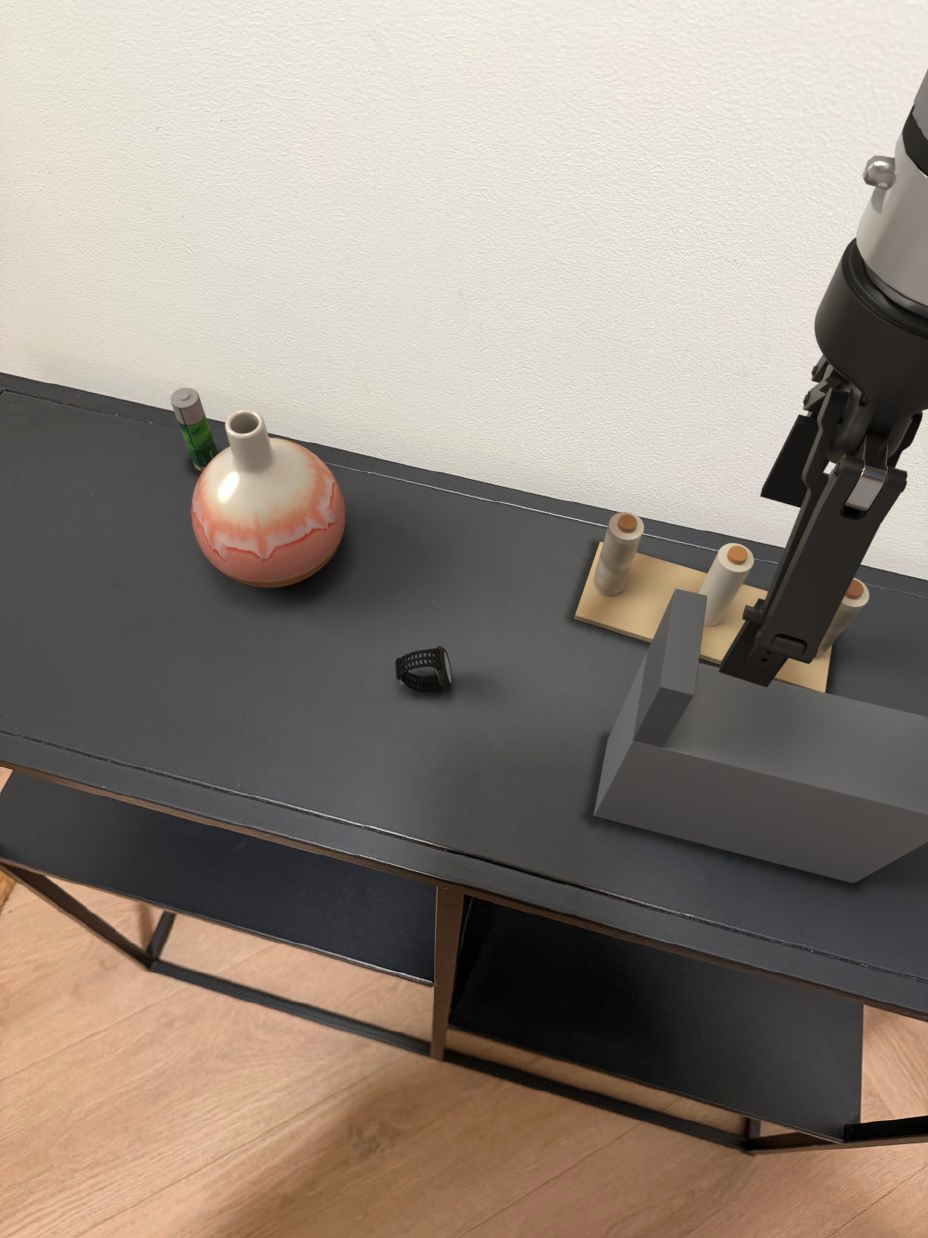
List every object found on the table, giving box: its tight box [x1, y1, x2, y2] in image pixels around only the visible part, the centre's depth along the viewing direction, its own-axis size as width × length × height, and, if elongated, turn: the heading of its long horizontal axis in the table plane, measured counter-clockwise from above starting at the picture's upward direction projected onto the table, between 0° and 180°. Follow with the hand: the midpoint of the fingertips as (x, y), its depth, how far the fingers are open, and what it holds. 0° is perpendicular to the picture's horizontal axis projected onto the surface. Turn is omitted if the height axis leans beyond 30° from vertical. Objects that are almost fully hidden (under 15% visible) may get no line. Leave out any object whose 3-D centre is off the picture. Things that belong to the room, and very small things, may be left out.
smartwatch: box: [394, 645, 453, 693], centre depth 72 cm, size 4×5×5 cm
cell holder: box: [573, 511, 870, 693], centre depth 74 cm, size 23×9×10 cm, turn 70°
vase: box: [190, 409, 347, 589], centre depth 74 cm, size 14×14×18 cm
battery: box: [169, 387, 219, 473], centre depth 83 cm, size 3×3×10 cm
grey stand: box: [593, 589, 928, 884], centre depth 59 cm, size 21×7×24 cm, turn 75°
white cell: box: [698, 542, 755, 626], centre depth 74 cm, size 3×3×10 cm
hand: (764, 580), depth 50 cm, fingers open, 13 cm apart
